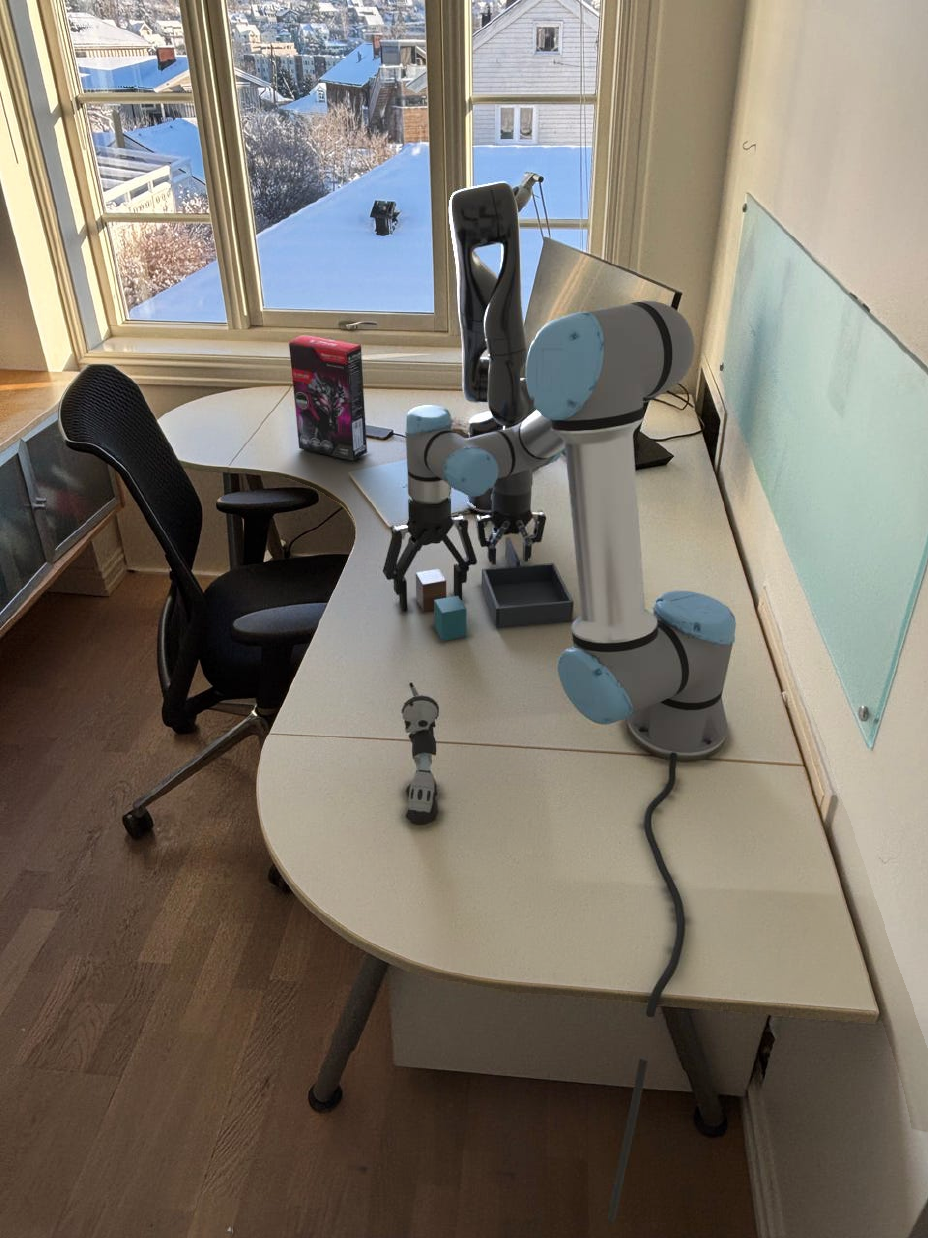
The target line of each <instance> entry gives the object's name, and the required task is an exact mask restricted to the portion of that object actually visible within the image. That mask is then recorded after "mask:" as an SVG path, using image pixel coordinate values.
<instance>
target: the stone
mask: <svg viewBox="0 0 928 1238" xmlns="http://www.w3.org/2000/svg"><path fill="white" fill-rule="evenodd" d="M451 422H452V426H451V430H452V431H454V432H455V433H457V434H458V435H460V436H462V437H463V438H469V421H464V420H460V419H458V418H457V417H452V416H451Z"/></svg>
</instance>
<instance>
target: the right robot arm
mask: <svg viewBox="0 0 928 1238" xmlns="http://www.w3.org/2000/svg"><path fill="white" fill-rule="evenodd" d="M694 357H695V338H694V335H693V331H692V328H691V327H690V324H689V323H688V321H687V320H686V318H685V317H684V316H683V315H682V314H681V313H680V312H679V311H678V310H676V309H675V308H674V307H672V306H671V305H668V304H666V303H663V302H660V301H655V300H641V301H635V302H631V303H627V304H621V305H615V306H610V307H603V308H597V309H593V310H592V309H591V310H586V311H577V312H572V313H570V314H567V315H564V316H562V317H561V316H560V317H558V318H554V319H552V320H550V321H548V322H547V323H545V324H544V325H543V326H541V328H540V329H538V331H537V333H536V334H535V338H534V339H533V340H532V341H531V343H530V345H529V349H528V356H527V361H526V365H525V378H526V384H527V389H528V393H529V396H530V398H531V399H532V400H534V407H535V408H536V411H534V412H533V413H532V414H530V415H529V416H528V417H527V418H526V419H524V420H523V421H522V422H520V423H519V424H517V425H516V426H513V427H510V428H507V429H503V430H499V431H495V432H491V433H487V434H483V435H479V436H475V437H471V438H463V437H462V436H460V435H458V434H457V433H455V432H454V431H452V430H451V426H452V422H451V417H452V415H451V413H450V411H449V410H448V409H447V408H446V407H443V406H440V405H434V404H433V405H432V404H427V405H426V404H425V405H420V406H416V407H414V408H411V409H410V410H409V411H408V412H407V414H406V421H405V422H406V425H405V427H406V428H405V433H404V434H405V446H406V448H405V449H406V467H407V494H408V497H407V510H408V513H407V514H408V515H407V516H408V519H407V522H406V524H405V525H400V526H398V525H396V524H392V525H391V527H390V532H391V538H390V542H389V546H388V550H387V554H386V557H385V561H384V565H383V568H382V573H383V574H384V577H385V578H386V580H388V581H391V580H393V581H392V582H393V590H394V592H395V594H396V596H398V599H399V602H398V603H399V606H400V608H401V609H402V611H403V612H408V581H407V579H406V577H405V575H406V573H407V572H408V570H409V568H410V566H411V565H412V563H413V561H414V559H415V557H416V556H417V554H418V552H420V551H421V549H422V548H423V547H424V546H428V545H431V544H435V545H437V544H440V543H441V542H442V543H443V544H444V545H445V547H446V548H447V550H448V551H449V552H450V553H451V555H452V557H453V559H455V561H456V562H457V563H455V564H453V595H454V596H459V598H460V600H461V601H462V602H463V584H466V583H467V581H468V572H469V570H470V566H475V565H477V563H478V560H477V557H476V553H475V550H474V547H473V543H472V540H471V537H470V533H469V531H468V530H469V520H468V519H467V518H466V517H465V515H464V514H462V513H460V514H458V515H457V516H455V517H452V496H451V494H452V489H453V490H456V491H458V492H460V493H462V494H464V495H466V496H467V497H468V496H473V497H474V496H480V495H483V494H485V493H486V491H487V490H489V489H491V488H492V487H493V485H494V484H495V482H496V480H497V479H498V478H502V477H505V476H508V475H511V474H515V473H518V472H522V471H526V470H530V469H532V470H533V469H541V468H544V467H545V466H547V465H550V464H553V463H555V462H556V461H558V460H559V458H560V457H561V454H562V452H563V451H564V453H565V462H566V473H567V482H568V492H569V503H570V512H571V513H570V514H571V523H572V524H571V525H572V534H573V544H574V555H575V564H576V565H575V566H576V573H577V574H576V575H577V585H578V595H579V605H580V614H579V616H578V617H577V618H576V619H575V620H574V621H572V624H571V637H572V647H569V648H565V649H564V651H563V652H562V653H561V654H560V656H559V658H558V661H557V674H558V678H559V682H560V685H561V687H562V689H563V691H564V693H565V695H566V697H567V698H568V700H569V701H570V703H571V705H573V707H574V708H575V709H576V710H577V711H578V713H580V714H581V715H582V716H583V717H584V718H586V719H587V720H588V721H591V722H592V723H595V724H599V725H612V724H614V723H616V722H619V721H622V720H625V728H626V732H627V734H628V736H629V738H630V739H631V741H632V742H634V744H636V745H637V746H638V747H639V748H640V749H641V750H643V751H645V752H646V753H648V754H650V755H651V756H654V757H656V758H659V759H662V760H666V761H669V765H668V779H667V782H666V784H665V787H663V789H662V791H661V792H659V793H658V794H657V795H656V796H655V798H653V800H651V802H649V804H648V806H647V808H646V810H645V813H644V817H643V818H644V820H643V828H644V832H645V836H646V840H647V842H648V845H649V848H650V850H651V852H652V855H653V858H654V860H655V863H656V865H657V868H658V870H659V873H660V875H661V876H662V878H663V881H664V882H665V884H666V886H667V888H668V890H669V892H670V894H671V895H670V896H671V898H672V900H673V903H674V904H673V905H674V909H675V918H676V933H675V941H674V946H673V949H672V953H671V955H670V959H669V961H668V964H667V966H666V967H665V970H664V971H663V973H662V974H661V976H659V979H658V980H657V982H656V984H655V985H654V987H653V990H652V992H651V994H650V997H649V1000H648V1002H647V1006H646V1009H645V1014H646V1016H647V1017H648V1018H653V1017H654V1016H655V1014H656V1011H657V1007H658V1004H659V1001H660V999H661V996H662V994H663V992H664V990H665V988H666V986H667V985H668V983H669V981H670V980H671V979H672V977H673V975H674V973H675V972H676V970H677V968H678V965H679V961H680V959H681V953H682V950H683V946H684V939H685V934H686V919H685V917H686V916H685V910H684V905H683V900H682V897H681V894H680V891H679V889H678V887H677V885H676V882H675V881H674V879H673V878H672V875H671V874H670V872H669V870H668V868H667V866H666V863H665V860H664V858H663V855H662V853H661V850H660V847H659V845H658V842H657V839H656V838H655V835H654V832H653V827H652V817H653V814H654V812H655V810H656V809H657V807H659V805H660V804H661V803H662V802H663V801H664V800H665V799H666V798H667V797H668V796H669V795H670V793H671V792H672V791H673V789H674V786H675V783H676V776H677V772H676V771H677V763H694V762H700V761H703V760H706V759H709V758H711V757H714V755H716V754H718V752H720V751H721V750H722V748H723V747H724V744H725V743H726V740H727V739H726V738H727V734H728V721H727V716H726V712H725V708H724V707H725V706H724V701H723V692H724V686H725V682H726V678H727V674H728V673H727V672H728V668H729V664H730V659H731V654H732V651H733V650H732V649H733V645H734V643H735V642H736V635H735V634H736V627H737V626H736V625H737V622H736V617H735V615H734V613H733V611H732V610H731V609H730V608H729V607H728V606H727V605H726V604H724V603H723V602H722V601H720V600H719V599H717V598H714V597H712V596H710V595H707V594H704V593H700V592H695V591H692V590H691V591H690V590H671V591H667V592H664V593H662V594H660V595H659V596H658V597H657V598H656V600H655V603H654V604H653V607H652V610H653V613H651V612H650V610H647V608H646V602H645V587H644V576H643V575H644V573H643V560H642V545H641V533H640V532H641V531H640V519H639V518H640V517H639V516H640V515H639V504H638V489H637V488H638V487H637V475H636V463H635V461H636V460H635V445H634V433H635V430H637V428H638V427H639V426H640V425H641V424H642V422H643V421H644V420H645V412H644V411H645V410H644V403H647V402H650V401H653V400H654V399H656V398H658V397H659V396H661V395H662V394H664V393H666V392H667V391H670V389H672V388H674V387H676V386H677V385H678V384H679V383H680V382H681V381H683V380H684V378H685V377H686V376H687V374H688V372H689V370H690V369H691V366H692V364H693V360H694ZM453 526H454V527H455V529H456V530H457V531H458V535H459V537H460V541H461V544H462V548H463V550H464V553H465V554H464V555H465V556H464V557H463V556H462V555H461V553H460V552H459V550H458V549H457V548H456V546H455V545H454V544H453V542H452V540H451V539H450V537H449V536H448V534H449V532H450V530H451V529H452V528H453ZM408 533H409V535H410V536H409V538H408V541H407V544H406V546H405V548H404V550H403V552H402V553H401V549H402V544H403V540H405V538H406V534H408ZM400 553H401V555H400ZM399 556H400V557H399ZM647 1067H648V1060H645V1059H641V1058H639V1059H638V1064H637V1069H636V1075H635V1080H634V1085H633V1091H632V1097H631V1101H630V1105H629V1112H628V1117H627V1121H626V1127H625V1130H624V1136H623V1142H622V1145H621V1150H620V1156H619V1161H618V1166H617V1170H616V1175H615V1180H614V1185H613V1189H612V1194H611V1200H610V1205H609V1210H608V1213H607V1214H608V1216H607V1219H608V1220H609V1221H610V1222H614V1221H615V1220H616V1217H617V1211H618V1206H619V1201H620V1196H621V1193H622V1188H623V1184H624V1179H625V1173H626V1168H627V1164H628V1159H629V1155H630V1150H631V1145H632V1142H633V1136H634V1132H635V1127H636V1122H637V1117H638V1112H639V1107H640V1104H641V1098H642V1093H643V1090H644V1089H643V1088H644V1083H645V1079H646V1072H647Z"/></svg>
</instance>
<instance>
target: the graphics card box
mask: <svg viewBox="0 0 928 1238" xmlns="http://www.w3.org/2000/svg"><path fill="white" fill-rule="evenodd" d="M288 348H289V349H288V350H289V358H290V367H291V377H292V389H293V399H294V409H295V418H296V419H295V420H296V428H297V429H296V431H297V437H298V438H297V441H298V448H299V449H301V450H305V451H309V452H313V453H318V454H323V455H327V456H331V457H335V458H339V459H344V460H347V461H351V462H354V461H356V460H358V459H359V458H360V457H362V456H364V455H365V454H367V453H368V445H367V444H368V443H367V426H366V410H365V393H364V377H363V376H364V375H363V356H362V345H361V343H360V344H359V343H351V342H346V341H341V340H335V339H334V340H333V339H329V338H325V337H324V338H323V337H318V336H313V335H308V334H301V335H299V336H297V337H295V338H293V339H292V340H291V341H289V342H288Z"/></svg>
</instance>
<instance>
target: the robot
mask: <svg viewBox="0 0 928 1238" xmlns="http://www.w3.org/2000/svg"><path fill="white" fill-rule="evenodd" d="M409 688H410V691H411V693H412V697H410V698H409V699H407V700H406V701H405V702H404V703H403V705H402V707H401V714H402V719H403V721H404V725H405V726H404V727H405V728H404V732H405V733H406V734H409V735H408V739H409V740H410V742H411V755H412V757H411V758H412V760H413V761H414V763H415V766H416V770H415V773H414V775H413V777H412V779H411V781H410V783H409V785H408V786H407V787H406V789H405V793H406V795H407V798H408V809H407V812H406V813H405V818H406V819H407V820H408V821H409V822H410V823H411V824H414V825H417V826H423V825H426V824H429V823H431V822H433V821H435V820H436V819H437V816H438V814H439V810H438V809H439V808H438V802H437V800H436V797H437V795H438V786H437V782H436V781H435V780H436V779H435V777H434V774H433V773H432V772H431V769H430V768H431V766H432V765H433V759H432V757H433V756H437V740H436V738H435V731H434V728H436V720H437V719H438V717H439V713H440V707H439V704H438V702H437V701H436V700H435V699H434V698H432V697H431V696H428V695H426V694H419V692H418V690H417V689H416V687H415V685H414V683H413V682H412V681H411V682H409Z"/></svg>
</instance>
